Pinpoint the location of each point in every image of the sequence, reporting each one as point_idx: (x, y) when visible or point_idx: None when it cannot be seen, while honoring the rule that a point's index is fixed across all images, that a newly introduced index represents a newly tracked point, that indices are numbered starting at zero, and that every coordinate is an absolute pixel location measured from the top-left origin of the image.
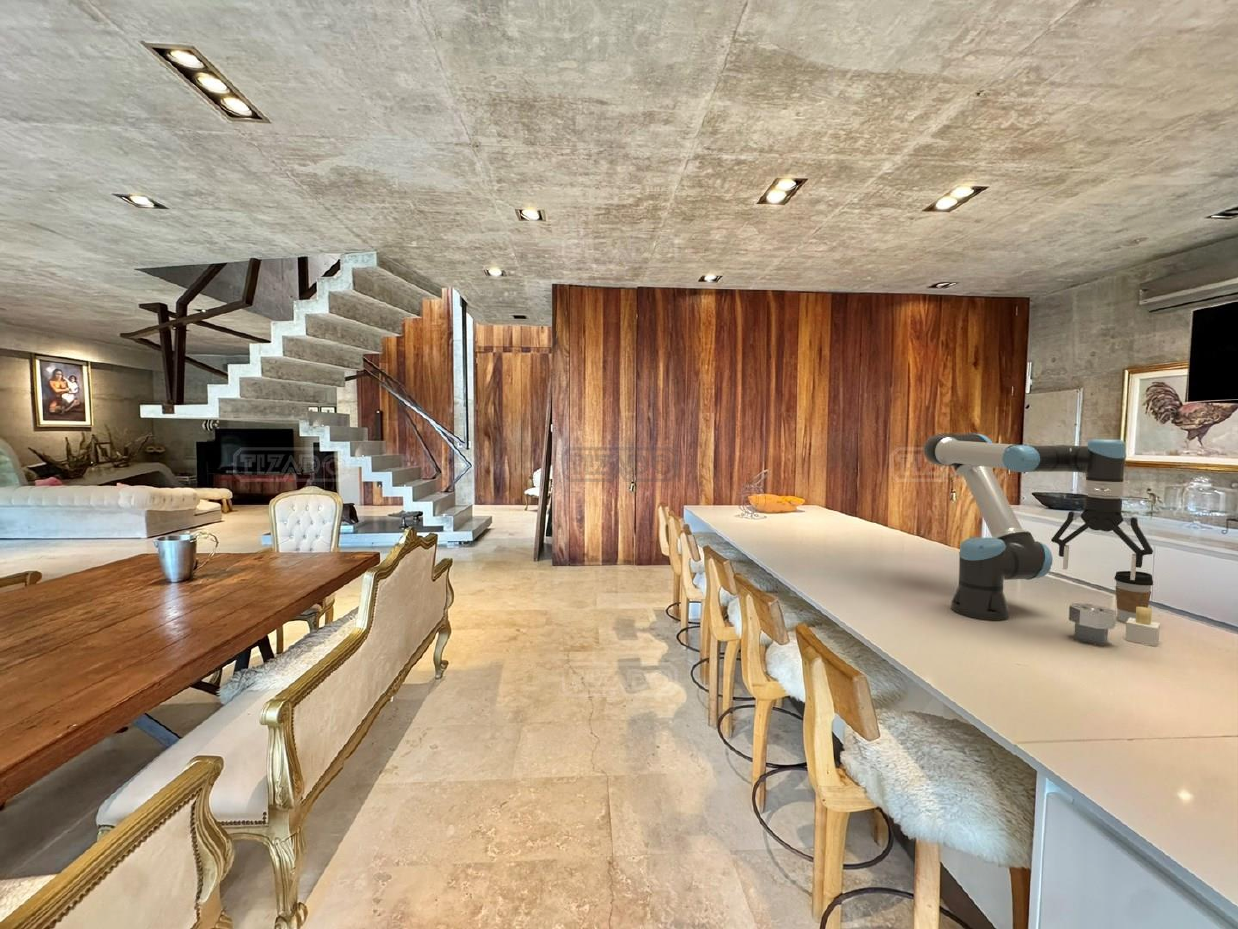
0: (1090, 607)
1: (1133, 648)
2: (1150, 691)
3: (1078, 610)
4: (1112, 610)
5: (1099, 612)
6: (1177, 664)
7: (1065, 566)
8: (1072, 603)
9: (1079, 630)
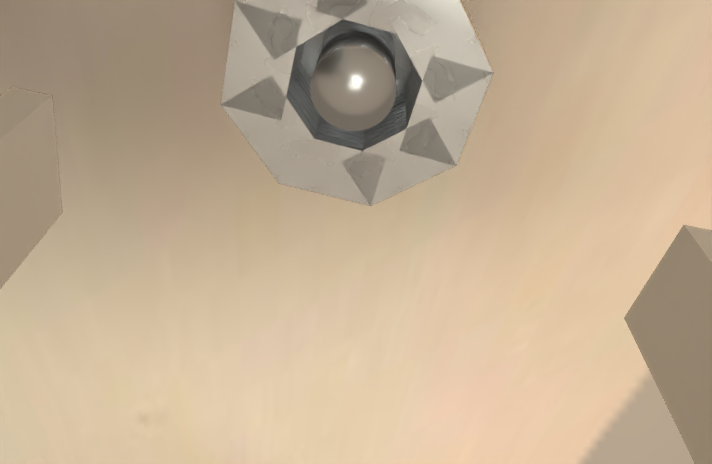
0: (341, 90)
1: (540, 26)
2: (445, 431)
3: (271, 168)
4: (474, 65)
5: (380, 172)
6: (644, 162)
7: (32, 235)
8: (235, 17)
9: None
